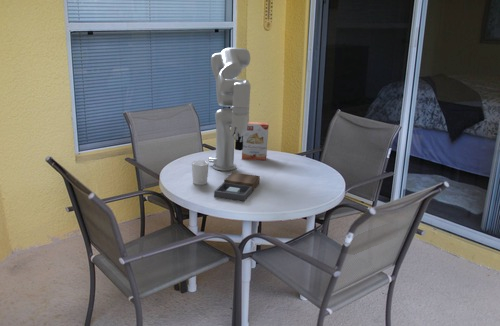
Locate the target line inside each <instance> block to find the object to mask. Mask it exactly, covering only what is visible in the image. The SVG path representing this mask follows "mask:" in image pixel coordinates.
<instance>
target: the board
mask: <svg viewBox="0 0 500 326" xmlns="http://www.w3.org/2000/svg"><path fill="white" fill-rule="evenodd" d="M260 179H261V176H260V175H256V174H255V175H254V174H247V173H241V172H240V173H239V172H233V171H232V172H231V173H230V174H229V175H228V176H227V177H226V178H224V181H223V182H225V183H232V184H239V185H246V186H252V193H253V192H254V191H255V190H256V189H257V188H258V186H259V185H260V181H261V180H260Z"/></svg>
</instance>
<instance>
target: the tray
mask: <svg viewBox="0 0 500 326" xmlns="http://www.w3.org/2000/svg"><path fill="white" fill-rule="evenodd" d="M229 187H235V188H240V194H235V193H229V192H226V190H227V189H228V188H229ZM252 193H253V192H252V186H246V185H239V184H232V183H225V182H224V181H223V182H222V183H221V184H220V185H219V186H218V187H217V188H216V189H215V190H214V192H213V195H214V196H213V197H214V198H217V199H223V200H229V201H236V202H242V203H245V201H246V200H247V199H248V198H249V197H250V196H251V194H252Z"/></svg>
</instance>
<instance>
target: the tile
mask: <svg viewBox="0 0 500 326" xmlns="http://www.w3.org/2000/svg"><path fill="white" fill-rule="evenodd" d="M226 192H229V193H235V194H240V188H235V187H229V188H228V189H227V190H226Z"/></svg>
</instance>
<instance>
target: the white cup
mask: <svg viewBox="0 0 500 326" xmlns="http://www.w3.org/2000/svg"><path fill="white" fill-rule="evenodd" d="M209 163H210V162H209V161H206V160H194V161H192V162H191V172H192V183H193V184H194V185H197V186H203V185H206V184H207V183H208V176H209Z"/></svg>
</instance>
